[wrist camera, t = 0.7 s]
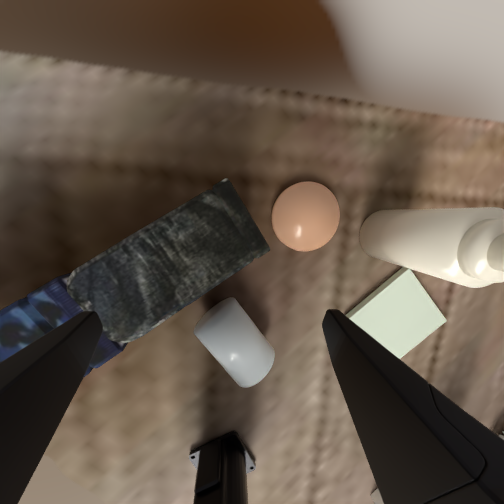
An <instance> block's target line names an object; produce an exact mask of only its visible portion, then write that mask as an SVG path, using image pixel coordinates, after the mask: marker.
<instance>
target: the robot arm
mask: <svg viewBox="0 0 504 504" xmlns="http://www.w3.org/2000/svg"><path fill="white" fill-rule="evenodd" d="M322 328H323V332H324V335H325V339H326V343H327V347H328V351H329V355H330V358H331V362H332V365H333V368H334V371H335V374H336V376H337V379H338V382H339V384H340V387H341V390H342V393H343V395H344V398H345V401H346V403H347V406H348V409H349V411H350V414H351V417H352V419H353V422H354V425H355V427H356V430H357V433H358V436H359V438H360V441H361V444H362V446H363V449H364V452H365V454H366V457H367V460H368V462H369V465H370V468H371V470H372V473H373V476H374V479H375V481H376V484H377V487H378V489H379V492H380V495H381V497H382V500H383V503H384V504H504V440H503V439H502V438H500V437H499V436H498V435H496V434H495V433H494V432H492V431H491V430H489V429H488V428H487V427H485V426H484V425H483V424H481V423H480V422H479V421H477V420H476V419H475V418H473V417H472V416H471V415H469V414H468V413H467V412H465V411H464V410H463V409H461V408H460V407H459V406H458V405H456V404H455V403H454V402H452V401H451V400H450V399H449V398H447V397H446V396H445V395H443V394H442V393H441V392H440V391H439V390H437V389H436V388H435V387H434V386H432V385H431V384H428V382H427V381H426V380H425V379H424V378H422V377H421V376H420V375H419V374H417V373H416V372H415V371H414V370H412V369H411V368H410V367H409V366H407V365H406V364H405V363H404V362H402V361H401V360H400V359H399V358H398V357H396V356H395V355H394V354H393V353H391V352H390V351H389V350H388V349H386V348H385V347H384V346H383V345H381V344H380V343H379V342H378V341H376V340H375V339H374V338H373V337H372V336H370V335H369V334H368V333H367V332H365V331H364V330H363V329H362V328H360V327H359V326H358V325H357V324H355V323H354V322H353V321H352V320H350V319H349V318H348V317H347V316H346V315H344V314H343V313H342V312H341V311H339V310H337V309H328V310H327V311H326V314H325V317H324V320H323V323H322ZM102 331H103V325H102V322H101V320H100V318H99V316H98V314H97V312H95V311H83V312H80V313H79V314H77V315H76V316H74V317H72V318H71V319H69V320H68V321H66V322H64V323H63V324H61V325H60V326H58V327H56V328H55V329H53V330H52V331H50V332H48V333H47V334H45V335H43V336H42V337H40V338H39V339H37V340H35V341H34V342H32V343H31V344H29V345H27V346H26V347H24V348H23V349H21V350H19V351H18V352H16V353H15V354H13V355H11V356H10V357H8V358H7V359H5V360H3V361H2V362H0V504H18V502H19V500H20V498H21V496H22V495H23V493H24V491H25V488H26V487H27V485H28V483H29V481H30V479H31V477H32V475H33V473H34V471H35V469H36V467H37V466H38V464H39V462H40V460H41V458H42V456H43V454H44V452H45V450H46V448H47V447H48V445H49V443H50V441H51V439H52V437H53V435H54V433H55V431H56V429H57V427H58V425H59V423H60V422H61V420H62V418H63V416H64V414H65V412H66V410H67V408H68V406H69V404H70V402H71V400H72V399H73V397H74V395H75V393H76V391H77V389H78V387H79V385H80V383H81V381H82V379H83V377H84V375H85V373H86V371H87V369H88V366H89V364H90V361H91V359H92V356H93V354H94V351H95V349H96V346H97V344H98V341H99V339H100V336H101V334H102ZM189 459H190V461H191V462H192V464H193V465H194V466H195V468H196V469H197V475H196V482H195V490H194V492H195V496H194V503H193V504H248V493H247V475H246V474H247V473H249V472H251V471H254V470H255V468H256V465H255V462H254V460H253V458H252V457H251V455H250V453H249V452H248V450H247V449H246V447H245V445H244V444H243V442H242V440H241V439H240V437H239V435H238V434H237V432H231V433H229V434H226V435H224V436H222V437H220V438H218V439H216V440H214V441H212V442H210V443H207V444H205V445H203V446H201V447H199V448H197V449H195V450H193V451H191V452H190V454H189Z"/></svg>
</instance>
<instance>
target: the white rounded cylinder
mask: <svg viewBox="0 0 504 504" xmlns="http://www.w3.org/2000/svg"><path fill="white" fill-rule="evenodd" d="M194 334H195V335H196V336H197V338H198V339H199V340H200V341H201V342H202V343H203V345H204V346H205V347H206V348H207V349H208V350H209V352H210V353H211V354H212V355H213V356H214V357H215V358H216V360H217V361H218V362H219V363H220V364H221V365H222V367H223V368H224V369H225V370H226V371H227V372H228V374H229V375H230V376H231V377H232V378H233V379H234V381H235V382H236V383H237V384H238V385H239V386H241V387H251V386H253V385H255V384H257V383H258V382H260V381H261V380H262V379H263V378H264V377H265V376H266V375H267V374H268V372H269V371H270V369H271V367H272V365H273V362H274V358H275V352H274V349H273V347H272V346H271V345H270V344H269V342H268V341H267V340H266V338H265V337H264V336H263V334H262V333H261V332H260V330H259V329H258V328H257V327H256V325H255V324H254V323H253V321H252V320H251V319H250V317H249V316H248V315H247V314H246V312H245V311H244V310H243V308H242V307H241V306H240V304H239V303H238V302H237V300H236V299H235V298H233V297H230V298H227V299H224V300H222V301H221V302H219V303H218V304H216V305H215V306H213V307H212V308H211V309H210V310H209V311H207V312H206V313H205V314H204V315H203V317H202V318H201V319H200V320H199V321H198V323H197V325H196V326H195V329H194Z"/></svg>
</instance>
